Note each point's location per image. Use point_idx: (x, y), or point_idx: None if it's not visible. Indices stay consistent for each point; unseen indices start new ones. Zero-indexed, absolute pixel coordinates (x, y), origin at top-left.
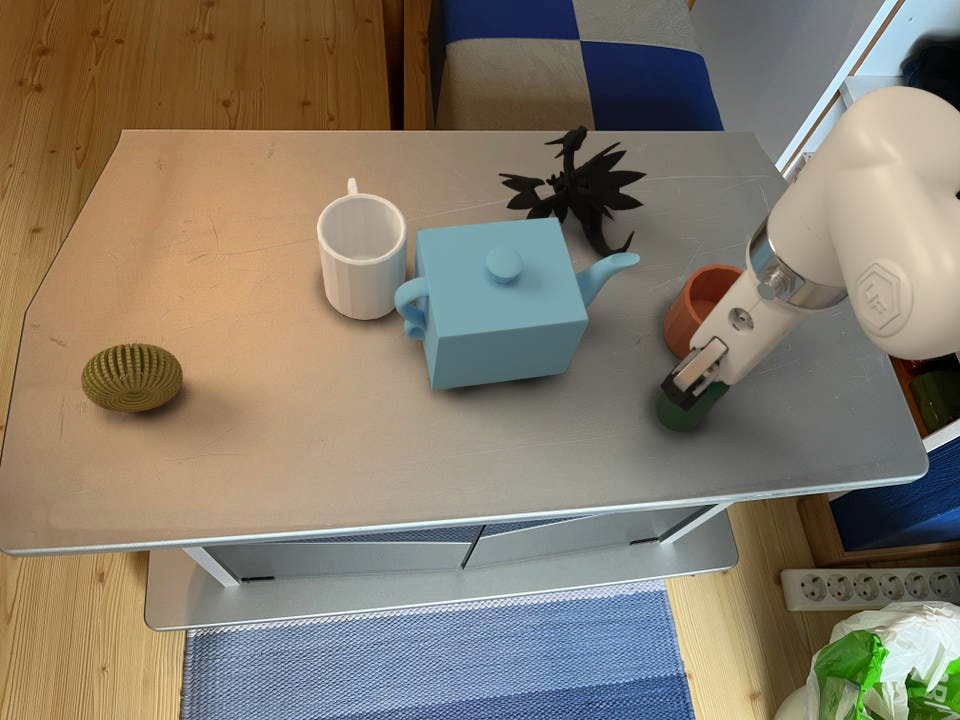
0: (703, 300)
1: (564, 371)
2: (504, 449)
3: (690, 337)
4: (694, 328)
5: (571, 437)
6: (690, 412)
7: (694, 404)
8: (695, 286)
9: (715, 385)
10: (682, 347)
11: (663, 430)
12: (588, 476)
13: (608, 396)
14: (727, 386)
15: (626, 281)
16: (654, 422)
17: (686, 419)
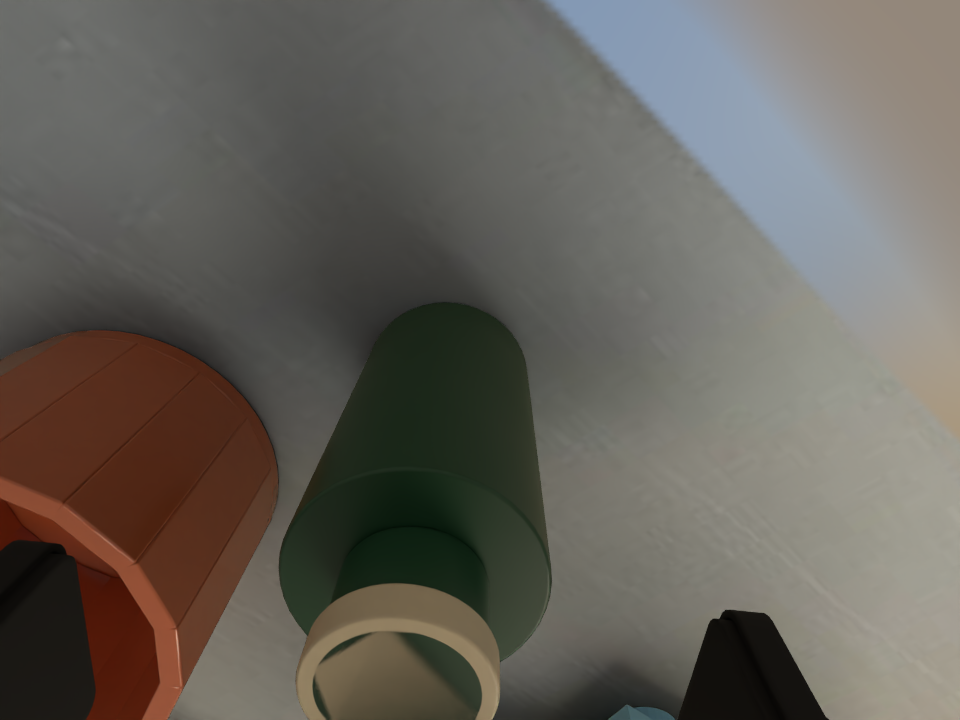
0: (38, 537)
1: (631, 715)
2: (900, 649)
3: (228, 575)
4: (203, 630)
5: (757, 554)
6: (528, 424)
7: (788, 686)
8: None
9: (444, 537)
10: (258, 521)
11: (544, 371)
12: (847, 456)
13: (564, 550)
14: (388, 481)
15: (206, 697)
16: (540, 408)
17: (519, 384)
